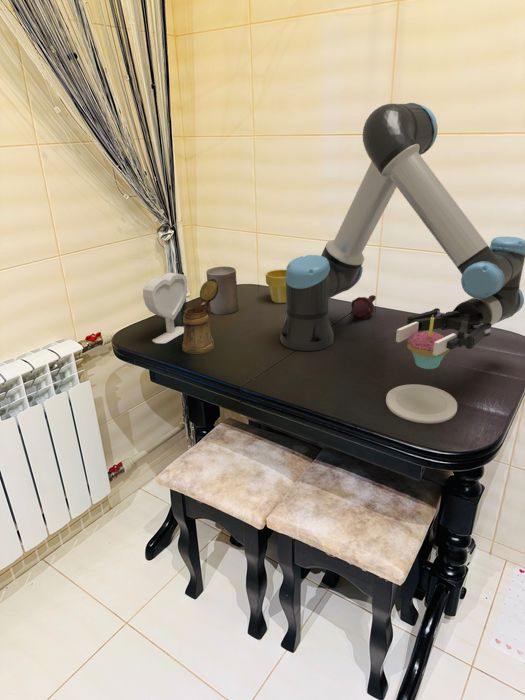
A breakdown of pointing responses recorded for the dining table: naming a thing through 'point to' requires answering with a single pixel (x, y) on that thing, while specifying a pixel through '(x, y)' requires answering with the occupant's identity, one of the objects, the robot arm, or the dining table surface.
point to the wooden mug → (200, 322)
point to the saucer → (421, 403)
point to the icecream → (363, 306)
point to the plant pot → (277, 285)
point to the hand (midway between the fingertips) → (416, 342)
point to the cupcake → (426, 348)
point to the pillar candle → (224, 290)
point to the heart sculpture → (166, 301)
